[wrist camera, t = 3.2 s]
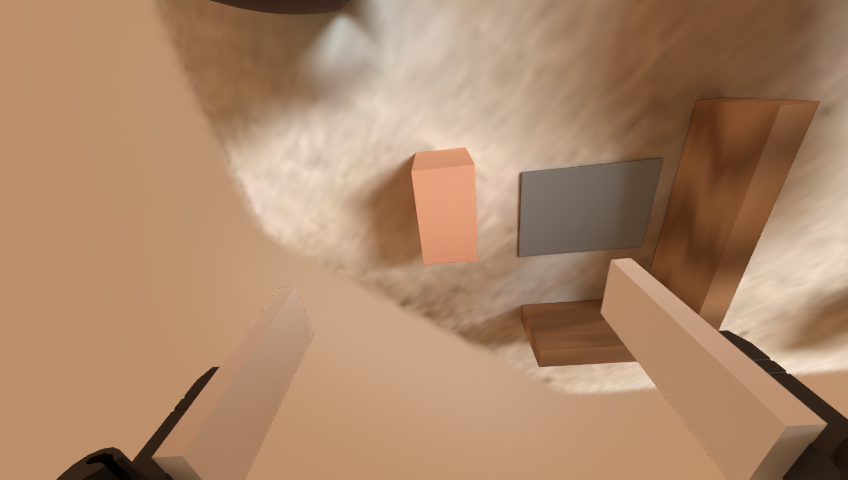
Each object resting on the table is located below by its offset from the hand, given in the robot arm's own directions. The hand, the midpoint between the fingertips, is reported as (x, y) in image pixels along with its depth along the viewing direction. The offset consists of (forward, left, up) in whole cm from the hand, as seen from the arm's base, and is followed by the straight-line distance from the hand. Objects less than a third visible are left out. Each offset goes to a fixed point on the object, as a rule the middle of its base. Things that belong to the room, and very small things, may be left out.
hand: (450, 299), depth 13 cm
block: (0, 0, -15) cm, 15 cm away
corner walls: (+5, +14, -14) cm, 21 cm away
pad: (+3, +12, -14) cm, 19 cm away
